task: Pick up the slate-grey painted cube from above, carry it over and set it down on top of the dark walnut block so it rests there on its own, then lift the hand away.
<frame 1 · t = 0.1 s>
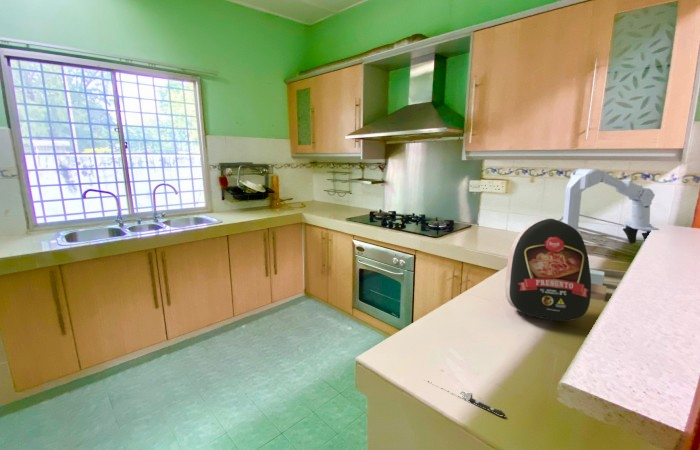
hand: (640, 245, 138), 11 cm above the counter, tool pointing down, fingers open, 7 cm apart
chef's knife: (458, 393, 67), on the counter
packaged food: (540, 313, 100), on the counter
walnut block: (588, 294, 115), on the counter
grey cube: (594, 284, 123), on the counter
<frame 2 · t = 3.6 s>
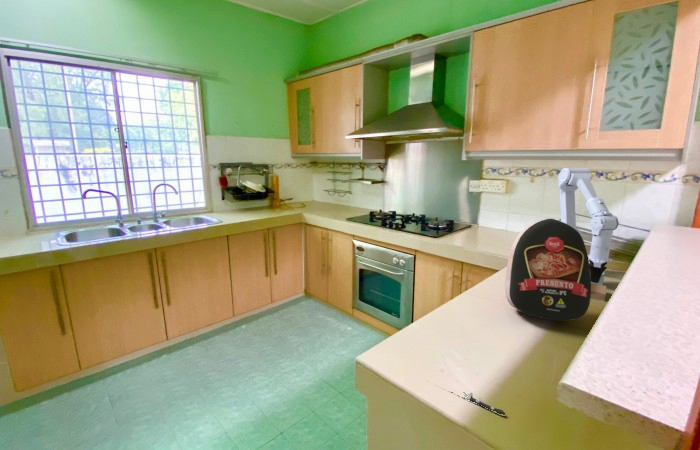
hand: (594, 280, 123), 2 cm above the counter, tool pointing down, fingers closed on grey cube, 5 cm apart
grey cube: (594, 284, 123), on the counter, touching gripper
everything else where it was.
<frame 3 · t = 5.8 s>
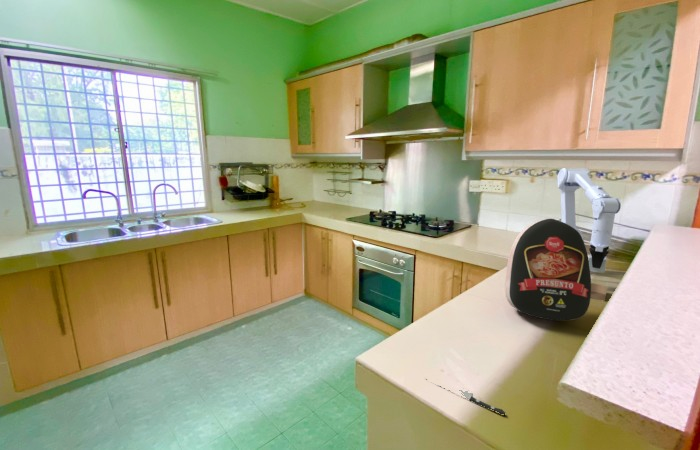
hand: (596, 265, 119), 8 cm above the counter, tool pointing down, fingers closed on grey cube, 5 cm apart
grey cube: (595, 270, 119), point 7 cm above the counter, touching gripper
everything else where it was.
when the fingers open (6 cm above the counter, at t = 7.9 s): grey cube drops 1 cm, resting on walnut block.
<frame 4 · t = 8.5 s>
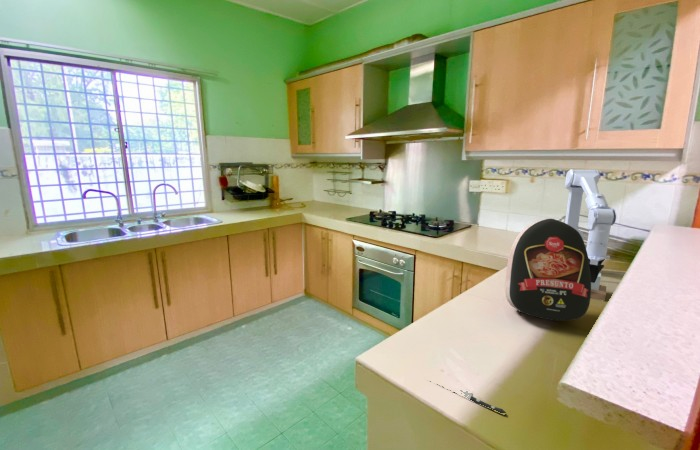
hand: (591, 278, 114), 6 cm above the counter, tool pointing down, fingers open, 7 cm apart
walnut block: (588, 294, 115), on the counter, touching grey cube
grey cube: (590, 286, 115), point 2 cm above the counter, touching walnut block
everything else where it was.
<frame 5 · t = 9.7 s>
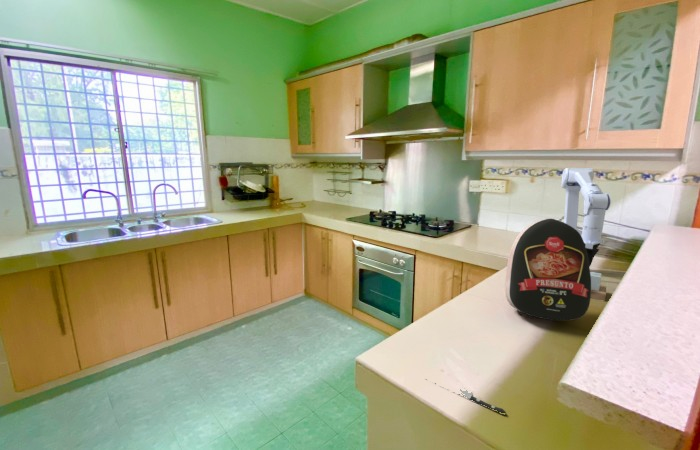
hand: (586, 263, 116), 10 cm above the counter, tool pointing down, fingers open, 7 cm apart
nothing on the counter moved.
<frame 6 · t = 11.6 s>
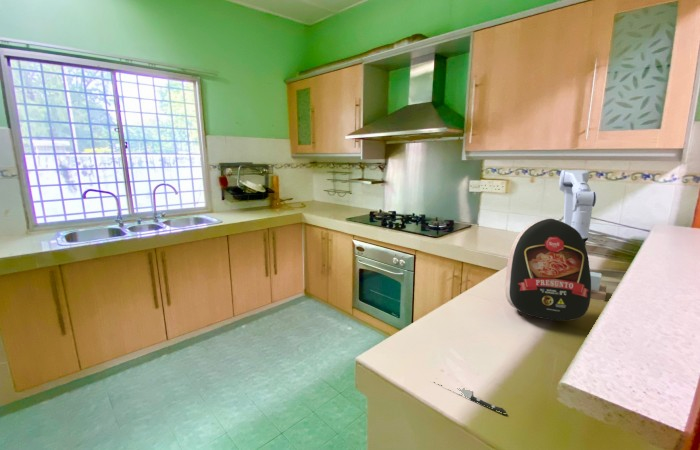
hand: (575, 256, 123), 10 cm above the counter, tool pointing down, fingers open, 7 cm apart
nothing on the counter moved.
at the end: grey cube 0.1 cm off-centre on the walnut block, point 3.0 cm above the walnut block's base; grey cube tilted 0°; grey cube touching walnut block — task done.
